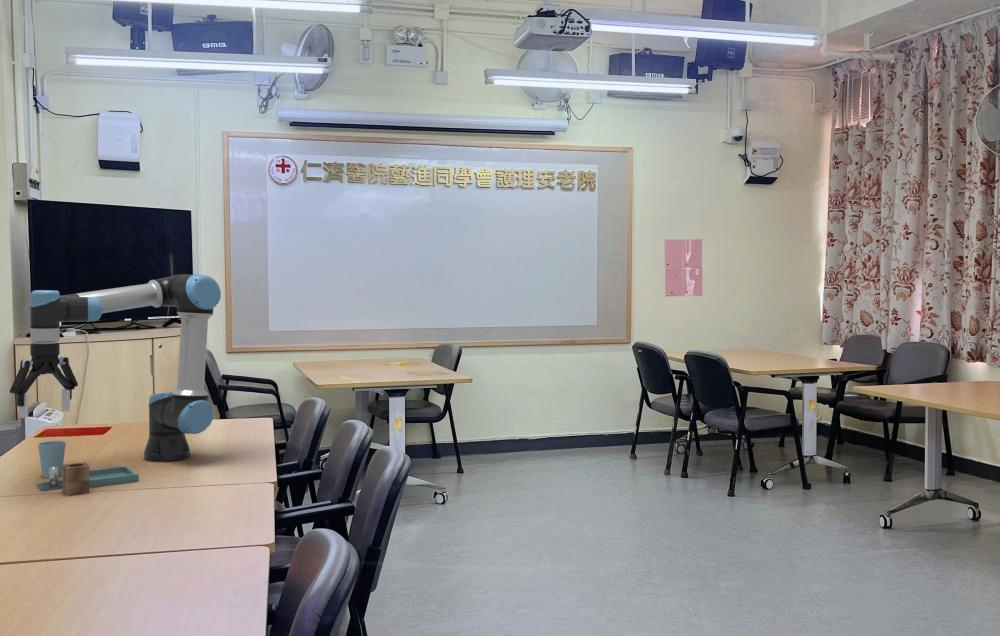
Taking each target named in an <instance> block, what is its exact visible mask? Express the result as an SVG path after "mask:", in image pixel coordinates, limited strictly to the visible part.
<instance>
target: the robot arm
mask: <svg viewBox="0 0 1000 636" xmlns="http://www.w3.org/2000/svg"><path fill="white" fill-rule="evenodd" d="M60 294H61V293H60V291H59V290H53V289H52V290H45V289H44V290H42V289H40V290H39V289H38V290H37V289H35V290H33V291H31V293H30V298H29V299H30V301H29V313H30V314H29V316H30V333H29V334H30V337H29V338H30V342H31V343H30V345H29V346H30V351H29V352H30V358H31V359H30V360H27V359H26V360H25V359H22V360H21V361H20V364H19V369H18V371H17V374H16V376H15V378H14V381H13V382H12V385H11V387H10V390H9V393H10V394H13V395H16V406H17V407H18V415H19V418H23V419H27V418H29V395H28V394H27V392H28V391H29V390H30V388H31V387H32V385H33V384H34V382H35V381H36V380H37V378H38V377H40V376H41V375H47V374H49V375H51V374H52V375H53V377H54V378H55V379H56V380H57V382H59V384H60V385H61V386H62V387H63V389H61V411H62V412H70V411H71V400H72V398H73V396H72V395H73V394H72V393H73V392H72V390H75V387H78V385H79V383H78V381H77V378H76V377H75V374H74V372H73V370H72V367H71V366H70V361H69V359H70V358H69V357H65V356H60V357H59V355H60V350H61V349H60V346H61V345H60V343H59V342H60V341H61V340H60V339H61V336H60V334H61V333H60V324H61V323H65V322H67V323H72V322H74V323H75V322H78V323H79V322H81V323H83V322H87V323H89V322H96V321H99V320H100V319H101V317H102V315H103V314H106V313H113V312H119V311H125V310H131V309H132V310H133V309H138V308H145V307H150V306H152V307H154V308H155V309H156V308H162V307H173V308H176V314H177V315H178V316H179V317H180V320H181V322H180V335H179V338H180V339H179V352H178V370H177V371H178V373H177V387H176V389H175V390H174V391H171V392H170V391H169V392H160V393H153V394H151V395H150V396H149V401H148V425H149V426H148V428H149V429H148V430H149V431H148V432H149V434H148V439H147V442H146V445H145V448H144V451H143V460H145V461H147V462H157V463H159V462H160V463H161V462H174V461H180V460H185V459H187V458H190V456H191V447H190V445H189V442H188V440H187V437H186V435H189V434H190V435H191V434H192V435H198V434H201V433H202V432H205V431H206V430H207V428H209V427H210V425H211V424H212V422H213V420H214V415H215V413H214V412H215V411H214V408H213V406H212V405H211V404H210V403H209V392H207V391H206V390H205V378H206V362H207V361H206V359H207V346H208V325H209V319H210V318H212V317H213V315H214V308H215V307H216V306H217V304H219V303H220V300H221V297H222V292H221V288H220V285H219V283H218V282H217V281H216V280H215V279H214V278H213V277H211V276H209V275H205V274H200V273H198V274H196V273H195V274H194V273H193V274H187V273H184V274H183V273H182V274H174V275H170V276H166V277H162V278H156V279H150V280H149V281H148V282H147V283H144V284H143V283H142V284H136V285H128V286H121V287H115V288H114V287H113V288H106V289H100V290H99V289H98V290H92V291H85V292H80V293H79V292H77V293H71V294H65V295H60ZM59 366H60V368H59ZM30 368H31V369H30ZM62 372H63V373H62Z"/></svg>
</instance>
